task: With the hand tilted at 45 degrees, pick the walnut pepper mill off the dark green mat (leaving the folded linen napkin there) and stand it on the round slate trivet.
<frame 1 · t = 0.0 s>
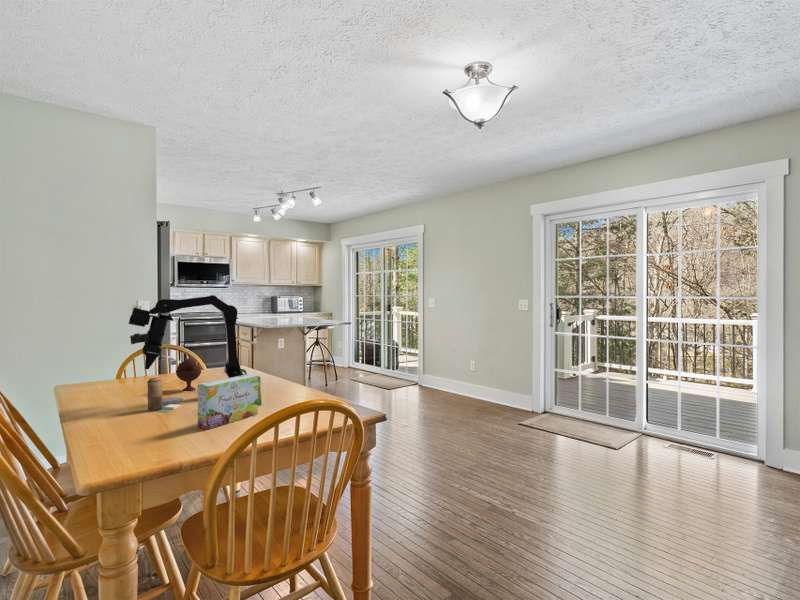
hand: (147, 367, 175), 15 cm above the table, tool pointing down, fingers open, 9 cm apart
chalk box: (245, 405, 175), on the table
ice cream bowl: (189, 390, 201), on the table
snack box: (229, 421, 155), on the table
pepper mill: (155, 409, 168), resting on mat
mat: (162, 409, 169), on the table
trivet: (168, 402, 181), on the table
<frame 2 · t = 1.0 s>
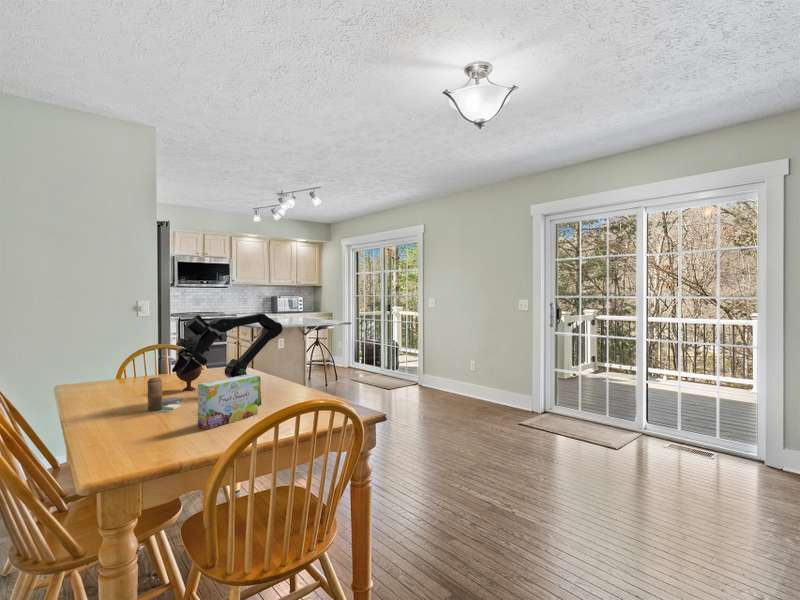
hand: (176, 373, 173), 13 cm above the table, tool tilted 45°, fingers open, 9 cm apart
nothing on the table moved.
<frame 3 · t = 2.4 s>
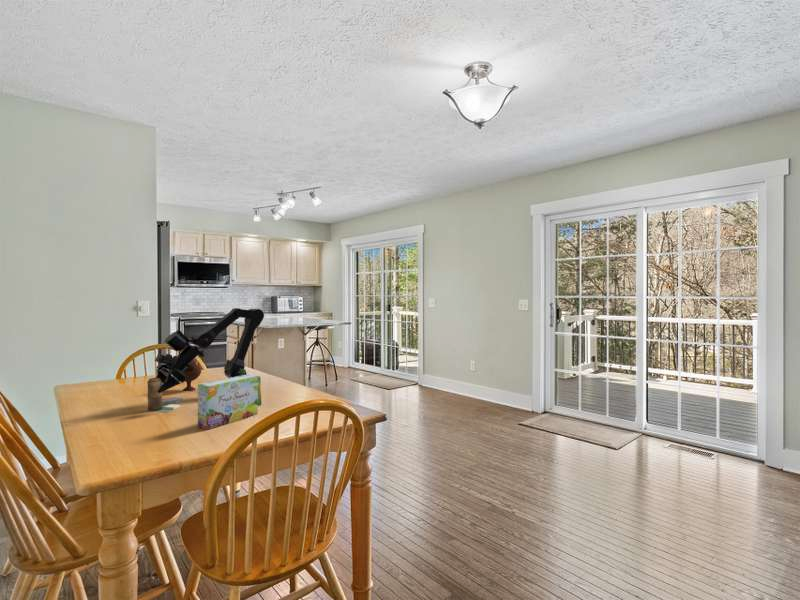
hand: (154, 390, 168), 8 cm above the table, tool tilted 45°, fingers open, 9 cm apart
nothing on the table moved.
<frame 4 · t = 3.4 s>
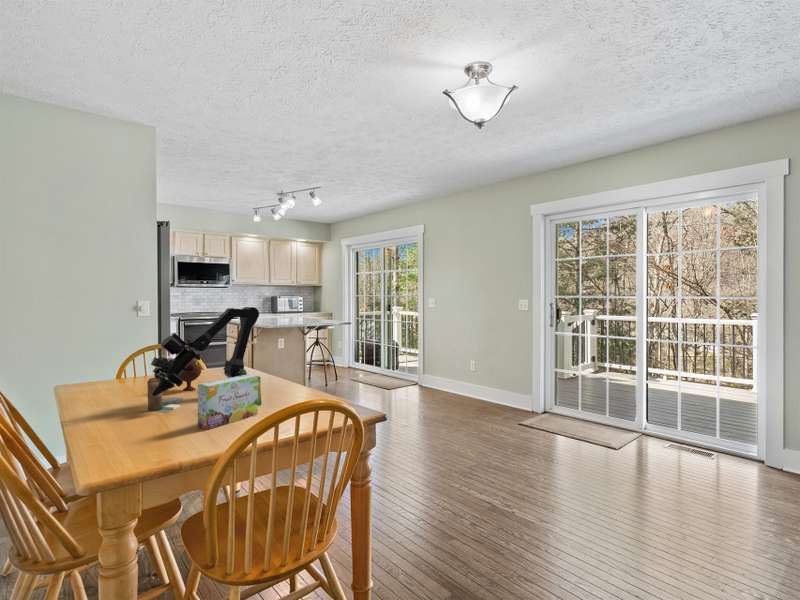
hand: (150, 394, 167), 7 cm above the table, tool tilted 45°, fingers closed on pepper mill, 5 cm apart
pepper mill: (155, 409, 168), resting on mat, touching gripper
everything else where it was.
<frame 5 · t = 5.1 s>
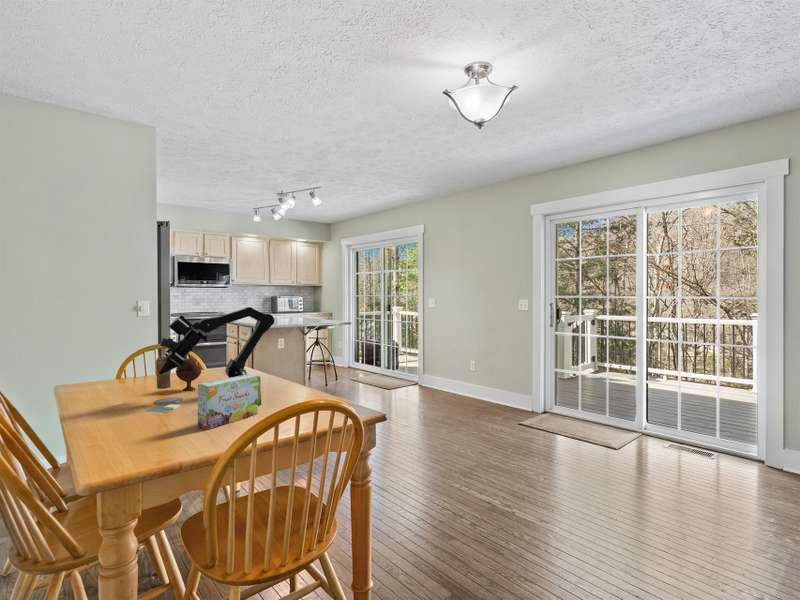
hand: (159, 372, 176), 13 cm above the table, tool tilted 45°, fingers closed on pepper mill, 5 cm apart
pepper mill: (163, 387, 176), point 7 cm above the table, touching gripper
everything else where it was.
when the fingers open (8 cm above the table, at t = 6.8 s): pepper mill stays where it is, resting on trivet.
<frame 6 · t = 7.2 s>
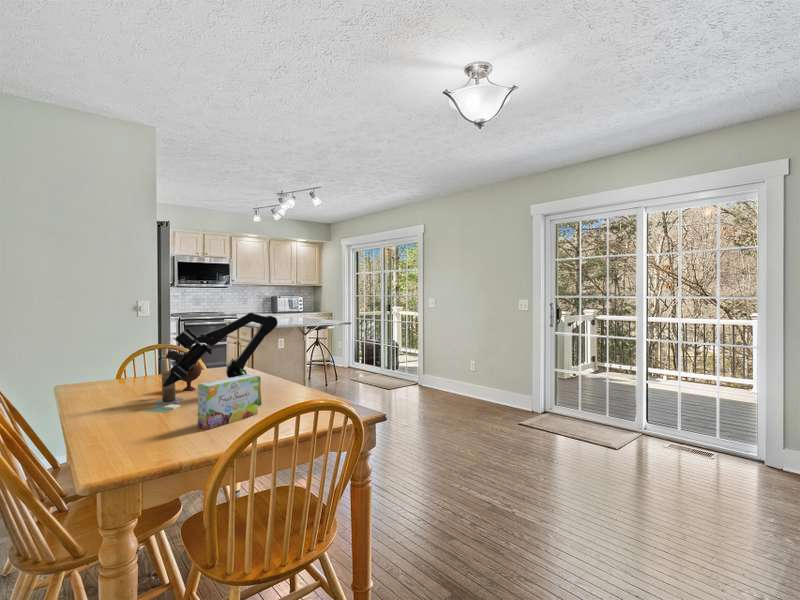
hand: (164, 383, 180), 8 cm above the table, tool tilted 45°, fingers open, 9 cm apart
pepper mill: (169, 400, 181), point 1 cm above the table, touching trivet
everything else where it was.
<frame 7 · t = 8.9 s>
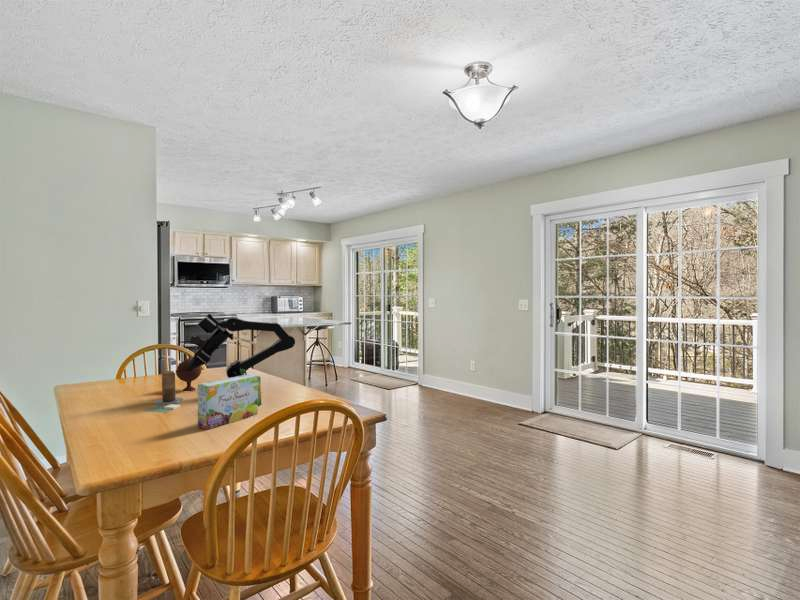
hand: (187, 368, 183), 13 cm above the table, tool tilted 45°, fingers open, 9 cm apart
nothing on the table moved.
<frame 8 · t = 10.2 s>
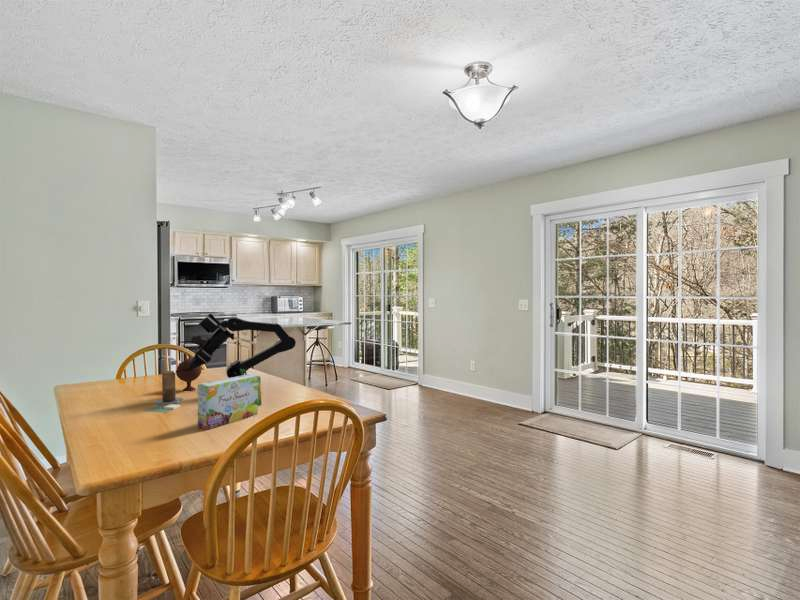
hand: (188, 368, 183), 14 cm above the table, tool tilted 45°, fingers open, 9 cm apart
nothing on the table moved.
at the end: pepper mill inside the target area on the trivet (0.1 cm from its centre), point 0.6 cm above the trivet's base; pepper mill tilted 0°; the gripper is holding nothing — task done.
